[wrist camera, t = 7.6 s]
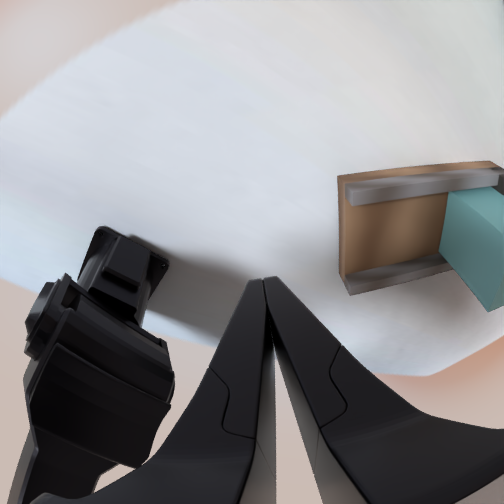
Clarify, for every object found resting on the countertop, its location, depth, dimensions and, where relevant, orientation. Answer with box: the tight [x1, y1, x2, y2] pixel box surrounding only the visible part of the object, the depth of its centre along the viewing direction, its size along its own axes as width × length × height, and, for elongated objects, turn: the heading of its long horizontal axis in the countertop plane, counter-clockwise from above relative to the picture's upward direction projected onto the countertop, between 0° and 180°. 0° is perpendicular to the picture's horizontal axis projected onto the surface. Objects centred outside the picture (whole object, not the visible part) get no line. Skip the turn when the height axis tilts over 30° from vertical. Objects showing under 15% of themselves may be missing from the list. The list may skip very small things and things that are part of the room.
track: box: [337, 161, 504, 296], centre depth 20 cm, size 16×9×8 cm, turn 99°
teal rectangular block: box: [439, 186, 504, 312], centre depth 19 cm, size 5×6×8 cm
